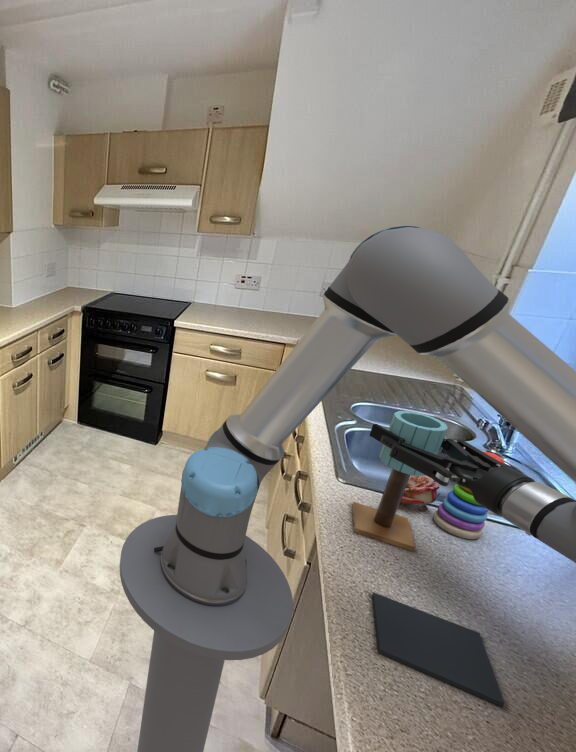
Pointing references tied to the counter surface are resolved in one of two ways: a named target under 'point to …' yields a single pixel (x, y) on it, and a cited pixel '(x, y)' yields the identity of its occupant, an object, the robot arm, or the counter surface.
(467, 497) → the stacking toy
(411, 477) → the flower
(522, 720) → the counter surface
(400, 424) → the planter pot
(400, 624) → the mat
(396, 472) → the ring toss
